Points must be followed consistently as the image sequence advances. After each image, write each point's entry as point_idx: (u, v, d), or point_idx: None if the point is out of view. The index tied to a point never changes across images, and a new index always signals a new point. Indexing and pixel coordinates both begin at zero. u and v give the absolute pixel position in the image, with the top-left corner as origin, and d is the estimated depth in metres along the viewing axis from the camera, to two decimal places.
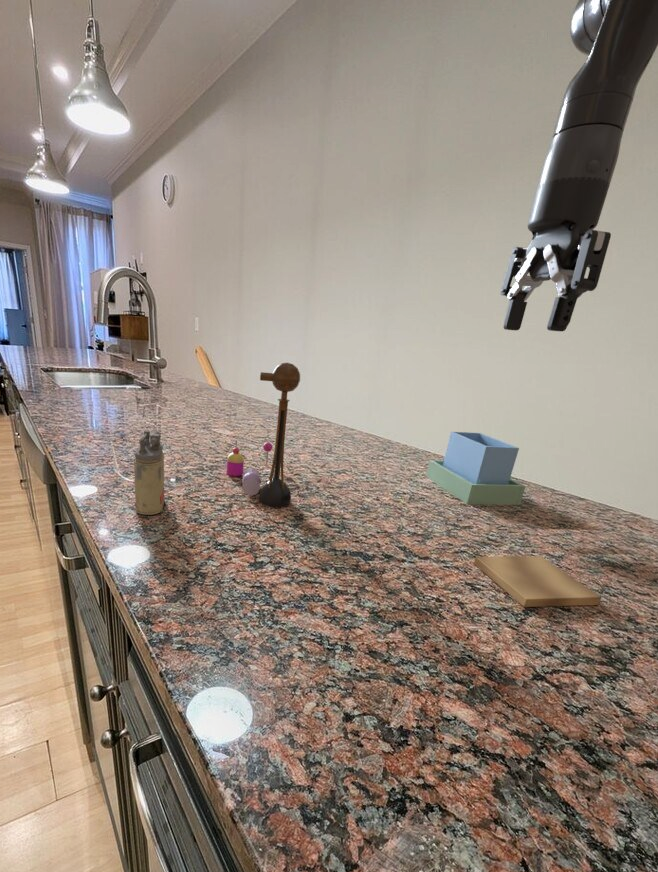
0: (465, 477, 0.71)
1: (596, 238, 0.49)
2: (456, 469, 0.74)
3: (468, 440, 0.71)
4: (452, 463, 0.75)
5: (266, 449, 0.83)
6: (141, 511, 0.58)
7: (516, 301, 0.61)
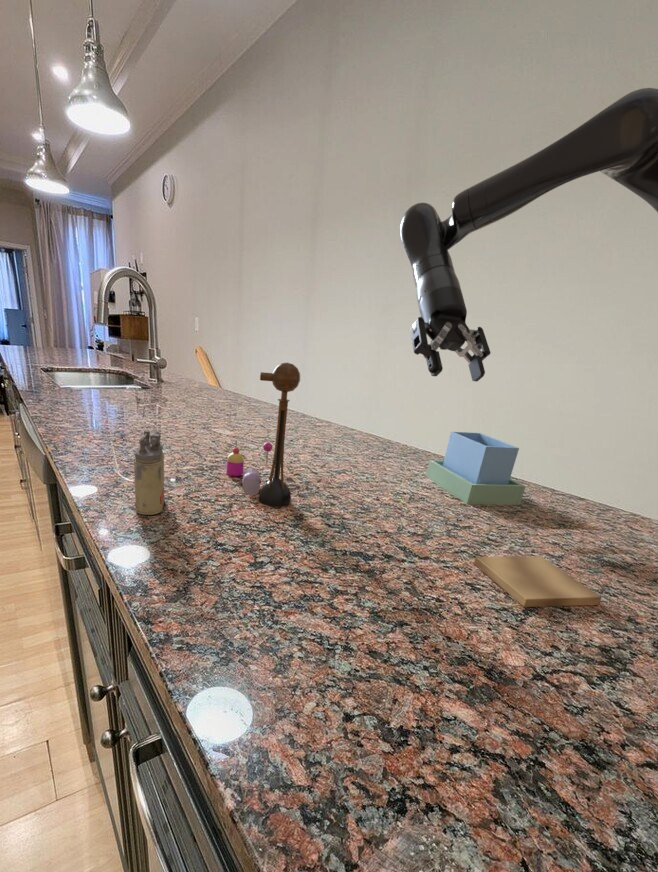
0: (465, 477, 0.71)
1: (412, 327, 0.78)
2: (456, 469, 0.74)
3: (468, 440, 0.71)
4: (452, 463, 0.75)
5: (266, 449, 0.83)
6: (141, 511, 0.58)
7: (470, 363, 0.80)
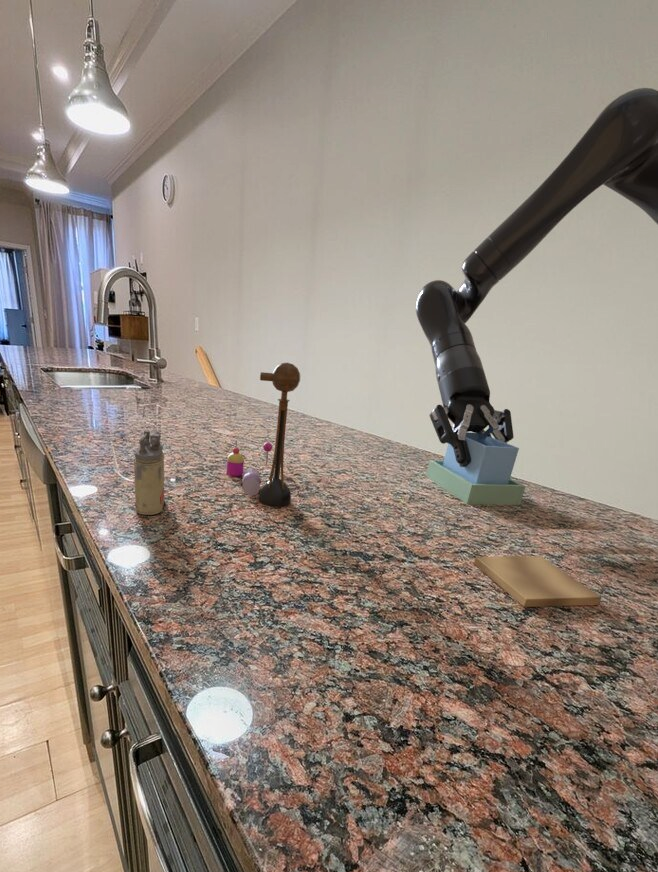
0: (465, 477, 0.71)
1: (432, 415, 0.74)
2: (456, 469, 0.74)
3: (468, 440, 0.71)
4: (452, 463, 0.75)
5: (266, 449, 0.83)
6: (141, 511, 0.58)
7: None
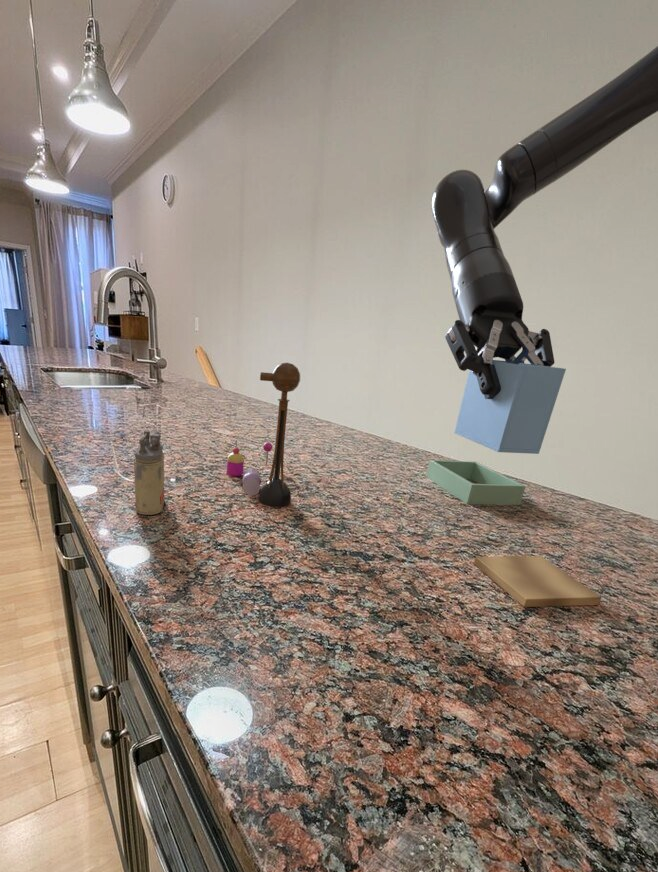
0: (492, 412, 0.55)
1: (448, 335, 0.57)
2: (480, 405, 0.57)
3: (497, 363, 0.54)
4: (474, 398, 0.58)
5: (266, 449, 0.83)
6: (141, 511, 0.58)
7: None
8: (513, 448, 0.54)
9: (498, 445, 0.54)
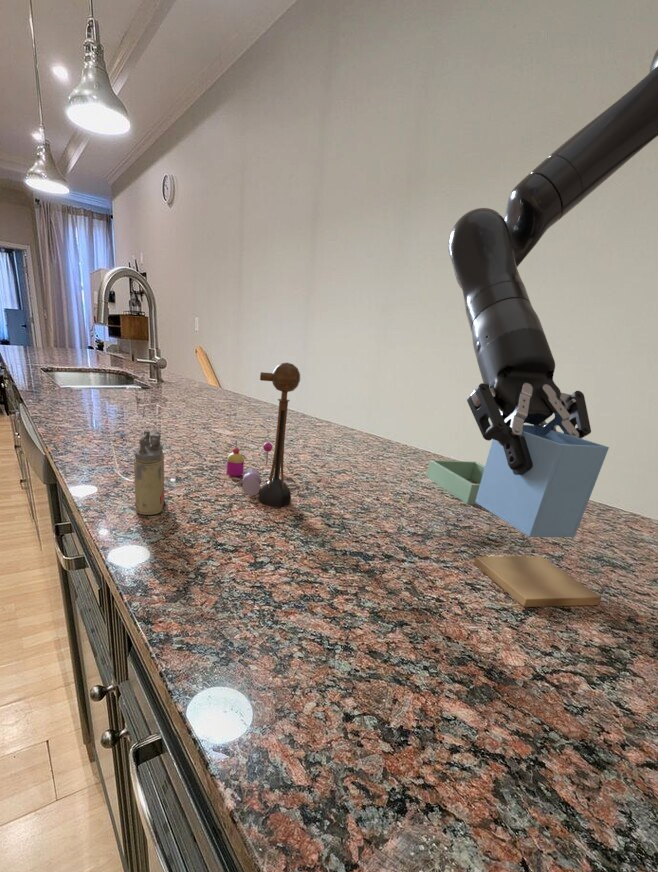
0: (522, 490, 0.48)
1: (471, 399, 0.51)
2: (506, 478, 0.51)
3: (527, 435, 0.47)
4: (499, 469, 0.52)
5: (266, 449, 0.83)
6: (141, 511, 0.58)
7: None
8: (546, 532, 0.47)
9: (529, 529, 0.47)
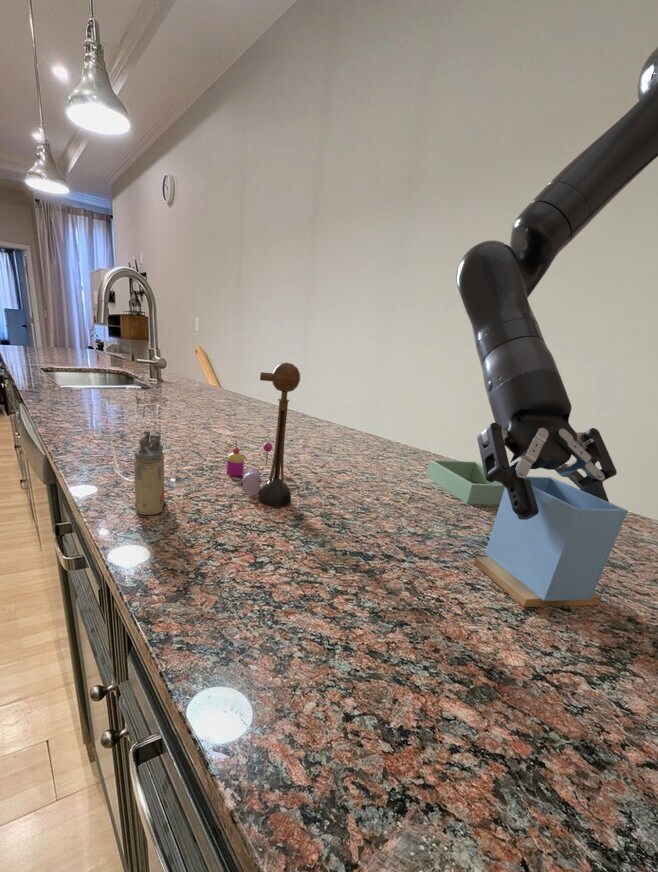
0: (536, 550, 0.46)
1: (481, 437, 0.49)
2: (518, 535, 0.49)
3: (541, 494, 0.45)
4: (511, 524, 0.50)
5: (266, 449, 0.83)
6: (141, 511, 0.58)
7: (581, 489, 0.49)
8: (561, 596, 0.45)
9: (544, 593, 0.45)
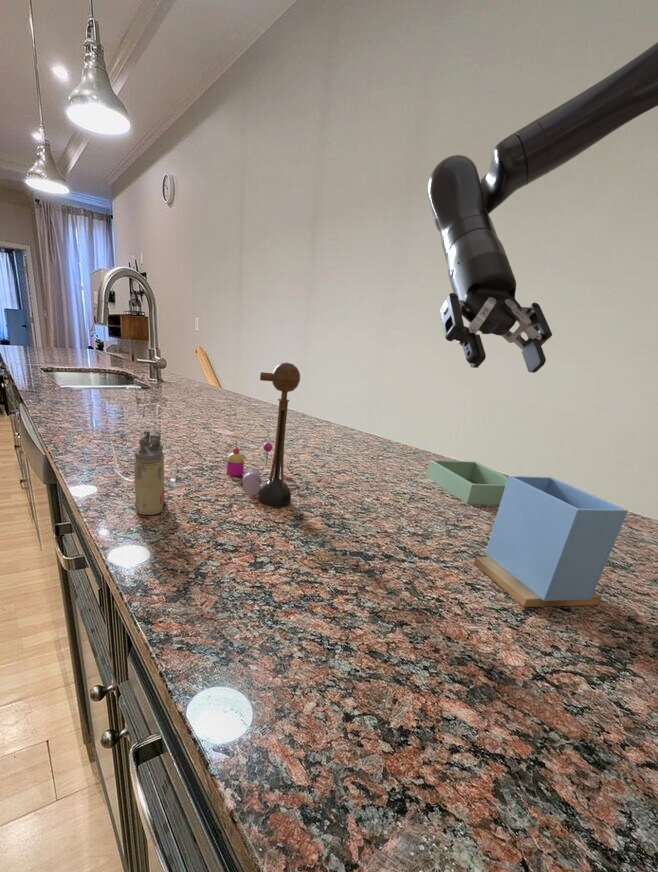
0: (536, 550, 0.46)
1: (442, 307, 0.60)
2: (518, 535, 0.49)
3: (541, 494, 0.45)
4: (511, 524, 0.50)
5: (266, 449, 0.83)
6: (141, 511, 0.58)
7: (524, 349, 0.60)
8: (561, 596, 0.45)
9: (544, 593, 0.45)
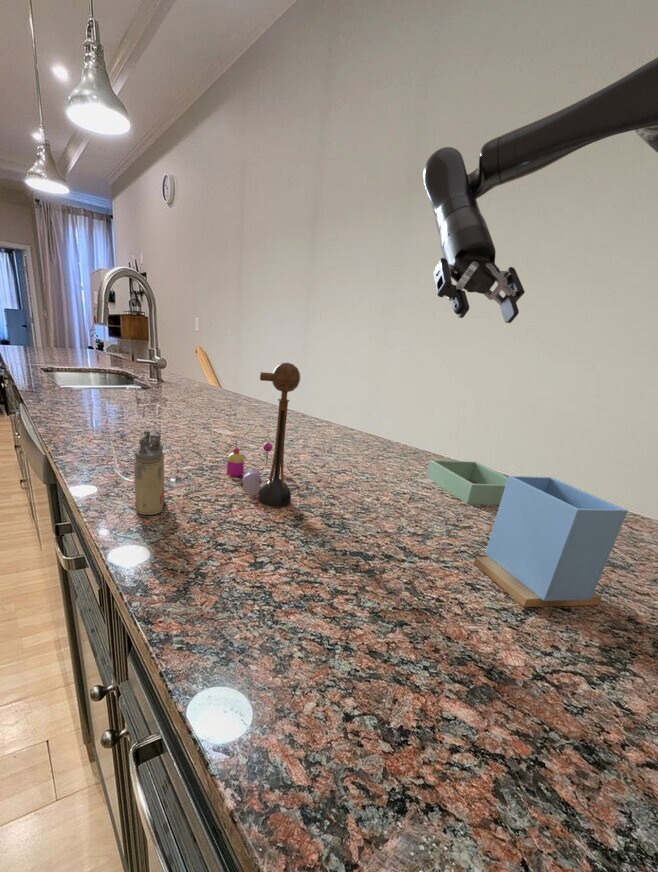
0: (536, 550, 0.46)
1: (435, 270, 0.73)
2: (518, 535, 0.49)
3: (541, 494, 0.45)
4: (511, 524, 0.50)
5: (266, 449, 0.83)
6: (141, 511, 0.58)
7: (501, 304, 0.73)
8: (561, 596, 0.45)
9: (544, 593, 0.45)
